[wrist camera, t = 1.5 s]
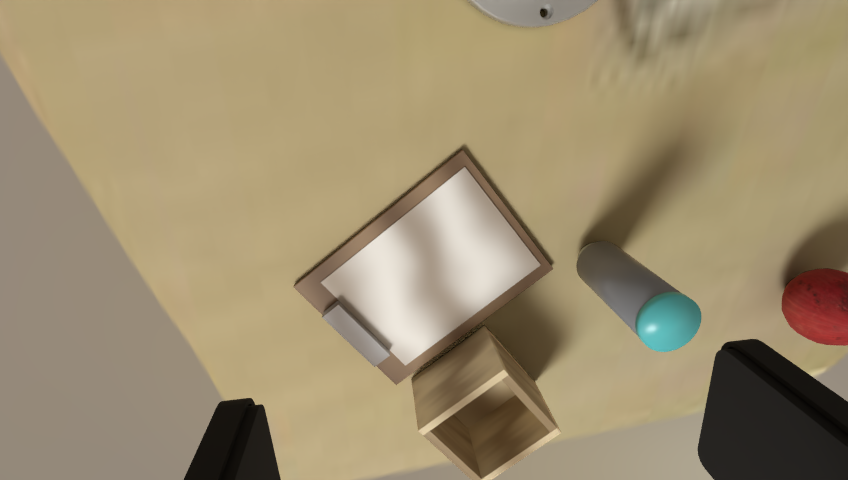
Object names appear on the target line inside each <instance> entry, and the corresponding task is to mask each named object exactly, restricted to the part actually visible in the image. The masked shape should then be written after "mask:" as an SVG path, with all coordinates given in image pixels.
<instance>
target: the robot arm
mask: <svg viewBox="0 0 848 480" xmlns="http://www.w3.org/2000/svg"><path fill="white" fill-rule="evenodd" d="M467 1H468V2H469V3H470V4H471V5H472V6H474V7H475V8H476V9H478V10H479V11H480V12H482V13H483V14H484V15H486V16H488V17H490V18H492V19H494V20H496V21H498V22H501V23H503V24H507V25H512V26H516V27H543V26H548V25H553V24H556V23H559V22H562V21H565V20H568V19H571V18H572V17H574V16H576V15H578V14H580V13H581V12H583V11H585V10H587V9H588V8H589V7H590V6H592V5H593V4H594V3H595V2H596V1H598V0H467ZM541 9H544V10H545V16H544V17H541V15H540V10H541ZM698 456H699V458H700V461H701V463H702V465H703V466H704V468H705V469H706V470H707V472H708V473H709V474H710V475H711V476H712V478H713V479H714V480H848V402H847V401H846V400H844V399H843V398H842V397H840V396H839V395H837V394H836V393H834V392H833V391H832V390H830V389H829V388H827V387H826V386H824V385H823V384H821V383H820V382H819V381H817V380H816V379H814V378H813V377H812V376H810V375H809V374H807V373H806V372H805V371H803V370H802V369H800V368H799V367H797V366H796V365H795V364H793V363H792V362H790V361H789V360H787V359H786V358H785V357H783V356H782V355H780V354H779V353H777V352H776V351H775V350H773V349H772V348H770V347H769V346H767V345H766V344H765V343H763V342H761V341H759V340H757V339H748V340H740V341H731V342H727V343H725V344H724V345H723V346H722V348H721V350H720V351H718V352H717V353H716V356H715V361H714V366H713V371H712V376H711V382H710V387H709V392H708V397H707V403H706V408H705V413H704V419H703V423H702V429H701V434H700V439H699V444H698ZM184 480H281V479H280V475H279V470H278V466H277V462H276V457H275V453H274V448H273V444H272V439H271V435H270V430H269V426H268V421H267V417H266V413H265V409H264V406H263V405H255V403H254V401H253V399H251V398H246V399H237V400H229V401H222V402H220V403H219V404H218V406H217V408H216V410H215V412H214V414H213V416H212V419H211V421H210V423H209V425H208V427H207V430H206V432H205V434H204V436H203V438H202V441H201V443H200V445H199V447H198V449H197V452H196V454H195V456H194V458H193V460H192V463H191V465H190V467H189V469H188V471H187V474H186V476H185V478H184Z"/></svg>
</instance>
